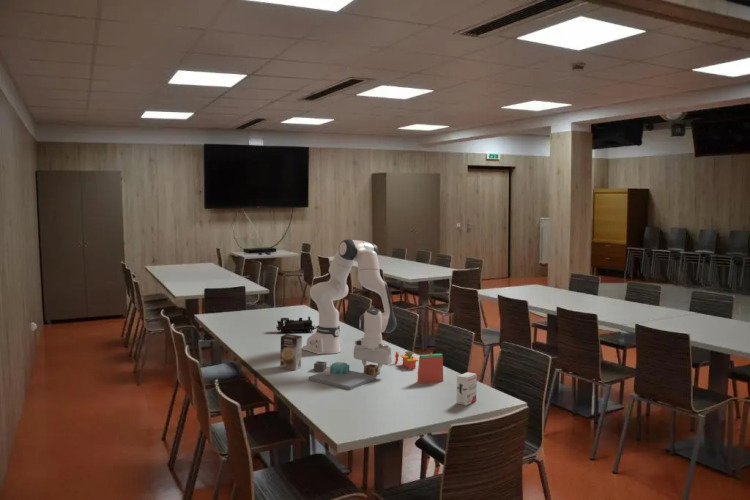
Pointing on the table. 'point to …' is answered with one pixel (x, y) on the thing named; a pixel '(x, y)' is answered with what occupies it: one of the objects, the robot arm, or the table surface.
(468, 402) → the ink box
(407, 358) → the toy building block set
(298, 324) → the toy train
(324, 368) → the dark gray block
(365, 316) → the robot arm
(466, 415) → the table surface
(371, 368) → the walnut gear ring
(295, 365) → the coffee box
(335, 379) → the gear board
